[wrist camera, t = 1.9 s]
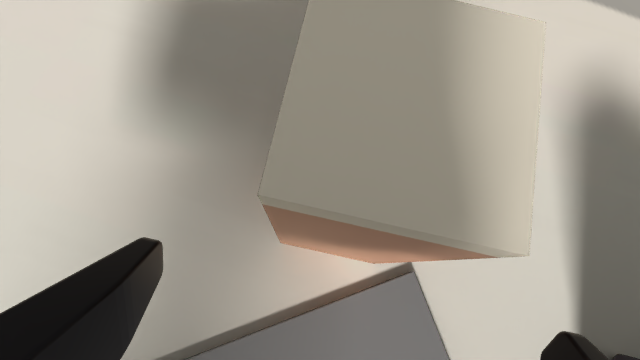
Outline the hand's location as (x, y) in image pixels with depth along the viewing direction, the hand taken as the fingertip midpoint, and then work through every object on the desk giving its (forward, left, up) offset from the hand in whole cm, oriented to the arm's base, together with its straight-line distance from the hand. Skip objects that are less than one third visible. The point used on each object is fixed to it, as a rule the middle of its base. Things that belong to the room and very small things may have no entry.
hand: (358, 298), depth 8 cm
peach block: (+2, +3, -11) cm, 12 cm away
